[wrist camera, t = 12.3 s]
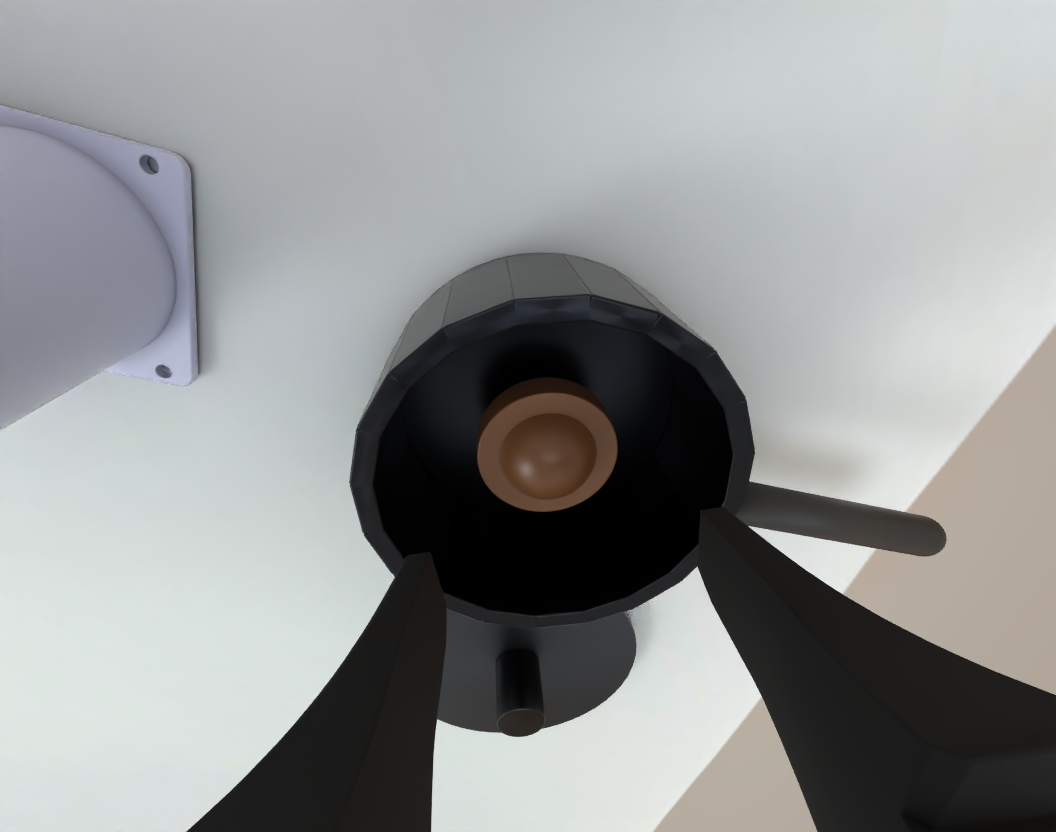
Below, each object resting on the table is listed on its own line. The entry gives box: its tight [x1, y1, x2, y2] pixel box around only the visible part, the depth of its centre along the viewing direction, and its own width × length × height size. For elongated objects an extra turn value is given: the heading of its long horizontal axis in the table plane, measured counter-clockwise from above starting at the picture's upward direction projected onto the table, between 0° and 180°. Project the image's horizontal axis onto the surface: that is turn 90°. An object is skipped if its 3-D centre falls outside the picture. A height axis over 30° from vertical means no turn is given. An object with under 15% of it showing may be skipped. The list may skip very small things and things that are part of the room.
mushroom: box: [477, 377, 618, 512], centre depth 18 cm, size 5×5×5 cm
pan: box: [349, 253, 755, 628], centre depth 18 cm, size 12×12×6 cm
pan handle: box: [736, 482, 946, 556], centre depth 19 cm, size 11×2×2 cm, turn 75°
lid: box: [437, 610, 636, 737], centre depth 26 cm, size 13×13×4 cm
